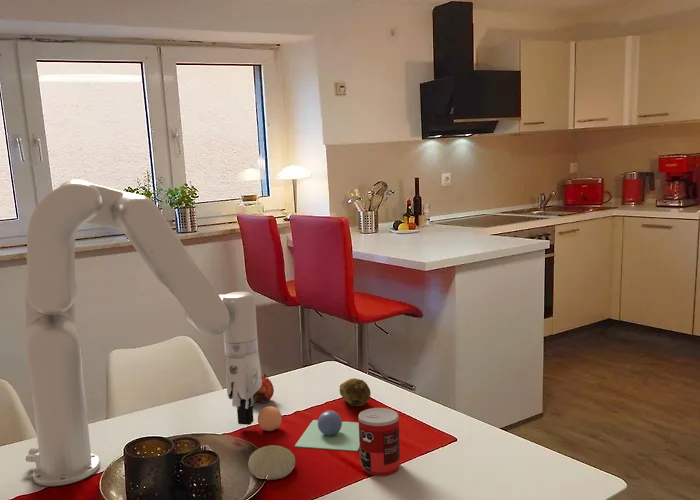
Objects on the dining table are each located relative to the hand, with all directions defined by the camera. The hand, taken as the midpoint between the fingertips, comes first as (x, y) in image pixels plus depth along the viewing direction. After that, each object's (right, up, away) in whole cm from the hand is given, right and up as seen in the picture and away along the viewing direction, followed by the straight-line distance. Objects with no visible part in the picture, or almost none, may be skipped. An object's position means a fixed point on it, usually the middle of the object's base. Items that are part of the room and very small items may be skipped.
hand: (245, 422), depth 147 cm
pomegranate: (+1, 0, +16) cm, 16 cm away
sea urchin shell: (+9, -5, -20) cm, 22 cm away
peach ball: (+6, +1, -1) cm, 6 cm away
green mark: (+21, -1, -5) cm, 21 cm away
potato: (+25, +1, +11) cm, 28 cm away
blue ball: (+20, +1, -5) cm, 20 cm away
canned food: (+30, -4, -20) cm, 37 cm away
